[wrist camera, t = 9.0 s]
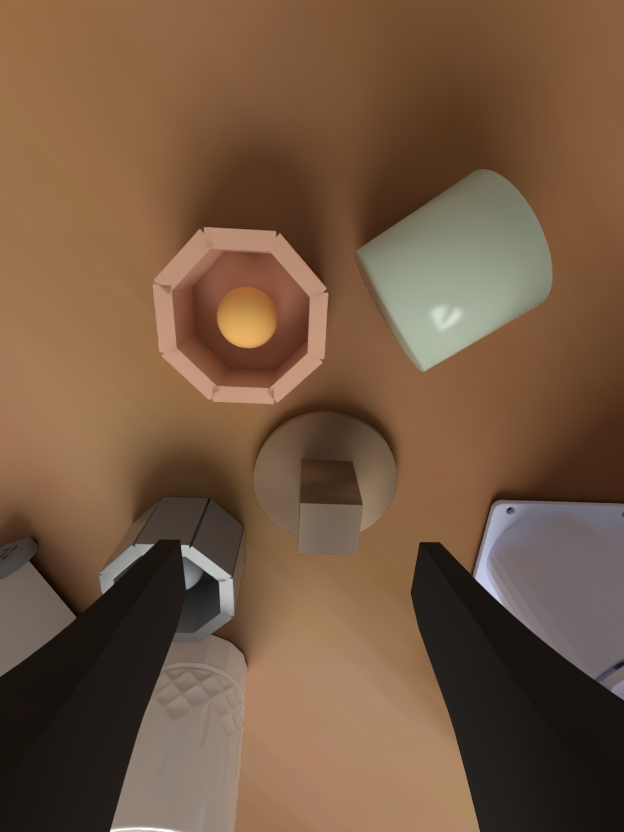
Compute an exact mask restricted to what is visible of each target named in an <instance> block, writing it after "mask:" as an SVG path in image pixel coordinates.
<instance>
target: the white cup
mask: <svg viewBox="0 0 624 832" xmlns="http://www.w3.org/2000/svg"><path fill="white" fill-rule="evenodd" d="M247 671H248V669H247V665H246V662H245V658H244V655H243V653H242V652H241V651H240V650H238V649H237V648H236V647H235V646H234V645H233V644H232V643H231V642H229V641H227V640H224V639H222V638H219V637H217V636H214V635H211V634H210V635H209V636H208V637H206V638H205V639H204V640H202V641H201V642H200V641H199V640H198V642H172V643H171V646H170V648H169V651H168V654H167V656H166V659H165V662H164V664H163V667H162V669H161V672H160V675H159V677H158V680H157V683H156V685H155V688H154V690H153V693H152V696H151V698H150V701H149V703H148V706H147V709H146V711H145V714H144V717H143V720H142V723H141V726H140V729H139V732H138V735H137V738H136V741H135V745H134V748H133V752H132V755H131V759H130V762H129V766H128V769H127V772H126V776H125V779H124V783H123V786H122V790H121V794H120V797H119V801H118V805H117V808H116V812H115V815H114V819H113V823H112V826H111V830H110V832H235V821H236V810H237V799H238V789H239V778H240V768H241V757H242V735H243V728H244V700H245V691H246V681H247Z"/></svg>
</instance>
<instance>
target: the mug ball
mask: <svg viewBox="0 0 624 832" xmlns="http://www.w3.org/2000/svg"><path fill="white" fill-rule="evenodd" d="M182 558H183V566H184V574H185V583H186V590H187V589H189V588H191V587H192V586H194V585H195V584H196V583H197V582H198V581H199V579H200V578H201V576H202V574H203V571H204V570H203V569H202V568H200V567H199V566H198V565H196V564H195V563H194V562H192V561H191V560H190V559H188V558H187V557H182Z"/></svg>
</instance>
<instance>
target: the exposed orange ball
mask: <svg viewBox="0 0 624 832" xmlns="http://www.w3.org/2000/svg"><path fill="white" fill-rule="evenodd" d="M217 322H218V326H219V329H220V331H221V333H222V334H223V336H224V337H225V338H226V339H227V340H228V341H229V342H231V343H232V344H234V345H236V346H238V347H242V348H255V347H259V346H261V345H263V344H264V343H266V342H267V341H268V340H269V339H270V338H271V337H272V335H273V334H274V332H275V330H276V327H277V311H276V308H275V305H274V303H273V302H272V300H271V299H270V297H269V296H268V295H267V294H265V293H264V292H263V291H261V290H259V289H257V288H253V287H238V288H235V289H233V290H231V291H230V292H228V293H227V294H226V295H225V296H224V297H223V298H222V300H221V301H220V304H219V306H218V310H217Z"/></svg>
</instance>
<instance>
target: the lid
mask: <svg viewBox="0 0 624 832" xmlns="http://www.w3.org/2000/svg"><path fill="white" fill-rule="evenodd" d="M253 485H254V491H255V496H256V498H257V501H258V503H259V505H260V507H261V509H262V510H263V512H264V513H265V514H266V516H267V517H268V518H269V519H270V520H271V521H272V522H273V523H274V524H276V525H277V526H278V527H280V528H281V529H283V530H285V531H286V532H288V533H290V534H293V535H295V536H298V553H302V554H339V555H357V554H358V545H359V537H360V532H361V531H363V530H365V529H366V528H368V527H370V526H371V525H372V524H373V523H375V522H376V521H377V520H378V519H379V518H380V517H381V516H382V515H383V514H384V512H385V511H386V510H387V508H388V507H389V505H390V503H391V501H392V499H393V497H394V494H395V490H396V486H397V468H396V464H395V460H394V457H393V455H392V452H391V450H390V448H389V446H388V444H387V443H386V441H385V439H384V438H383V437H382V435H381V434H380V433H379V432H378V431H377V430H376V429H375V428H374V427H373V426H372V425H370V424H369V423H367V422H366V421H364V420H362V419H360V418H358V417H356V416H354V415H351V414H348V413H344V412H339V411H330V410H326V411H314V412H308V413H304V414H301V415H298V416H296V417H293V418H291V419H289V420H288V421H286V422H284V423H283V424H281V425H280V426H279V427H277V428H276V429H275V430H274V431H273V432H272V433H271V434H270V435H269V436H268V438H267V439H266V440H265V442H264V443H263V445H262V447H261V449H260V451H259V454H258V456H257V460H256V464H255V468H254V474H253Z"/></svg>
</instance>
